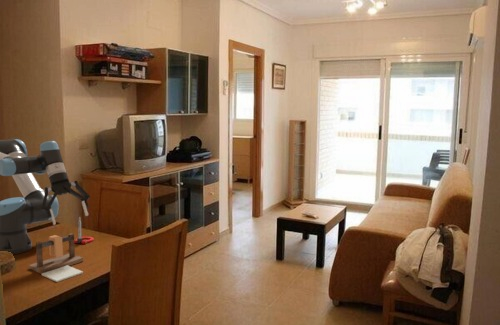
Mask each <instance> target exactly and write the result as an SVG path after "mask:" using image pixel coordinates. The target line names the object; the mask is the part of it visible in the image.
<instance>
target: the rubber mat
mask: <svg viewBox="0 0 500 325" xmlns="http://www.w3.org/2000/svg"><path fill="white" fill-rule="evenodd" d="M82 274H84V271H83V270H81V269H77V268H76V267H73V266H71V265H70V266H68V265H67V266H64V267H61V268H58V269H55V270H51V271H48V272H45V273H42V274H41V276H42V277H45V278H47V279H49V280H51V281H53V282H56V283H59V282H61V281H65V280H68V279H70V278H73V277H76V276H78V275H82Z"/></svg>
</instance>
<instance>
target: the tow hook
mask: <svg viewBox="0 0 500 325" xmlns="http://www.w3.org/2000/svg"><path fill="white" fill-rule="evenodd" d="M77 222H78V226H77V227H78V228H77V229H78V233H77V236H78V237H77V238H76V239H74V244H80V245H86V244H87V243H91V242H93V241H95V238H94V237H92V236H82V221H81V216H79V217H78V221H77Z"/></svg>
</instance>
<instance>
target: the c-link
mask: <svg viewBox="0 0 500 325" xmlns="http://www.w3.org/2000/svg"><path fill="white" fill-rule="evenodd" d="M62 237H63V236H59V235H56V234H54V235H51V236H48V241H50V240H51V241H54V245H51V246H48V247H49V248H48V250H49V251H48V252H49V256H52V257H53V256H54V257H55V258H58V257H61V256H63V255H64V249H63V247H64V246H63V244H64V243H63V242H62Z"/></svg>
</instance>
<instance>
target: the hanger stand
mask: <svg viewBox="0 0 500 325" xmlns="http://www.w3.org/2000/svg"><path fill="white" fill-rule="evenodd" d="M61 237H62V243H65V242H68V253H65V254H63V256H61V257H58V258H55V256H54V257H51V258H47V259H45V260H44V258H43V256H44V255H43V248H47V247H49V246H51V245H54V241H51V240H50V241H49V240H47V241H44V242H41V241H37V242H35V251H36V262H35V263H32V264H28V268H29V269H30V270H31V271H34V272H36V273H38V274H41V275H42V273H45V272H48V271H51V270H55V269H58V268H61V267H64V266H67V265H68V266H70V267H71V266H72V265H76V264H79V263H81V262H84V257H81V256H79V255H77V254H75V253H76V251H75V243H74V240H75V234H74V233H73V232H72V233H68V234H67V236H61Z"/></svg>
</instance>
